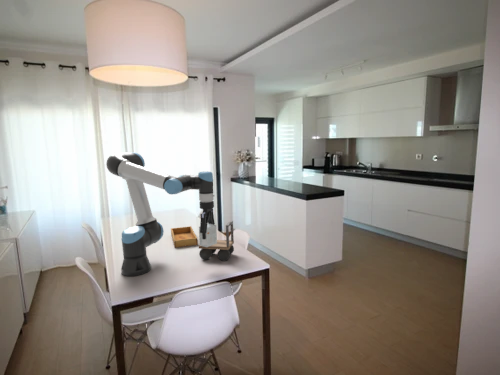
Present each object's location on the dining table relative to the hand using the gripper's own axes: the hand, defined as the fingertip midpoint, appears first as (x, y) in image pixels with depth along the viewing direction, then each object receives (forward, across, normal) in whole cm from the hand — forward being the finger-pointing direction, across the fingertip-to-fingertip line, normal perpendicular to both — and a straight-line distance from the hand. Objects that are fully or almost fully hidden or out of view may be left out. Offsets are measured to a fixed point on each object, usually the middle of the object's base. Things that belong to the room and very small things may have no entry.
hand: (208, 241), depth 167 cm
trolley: (+15, +16, 0) cm, 22 cm away
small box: (+2, 0, 0) cm, 2 cm away
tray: (+16, +45, +34) cm, 59 cm away
